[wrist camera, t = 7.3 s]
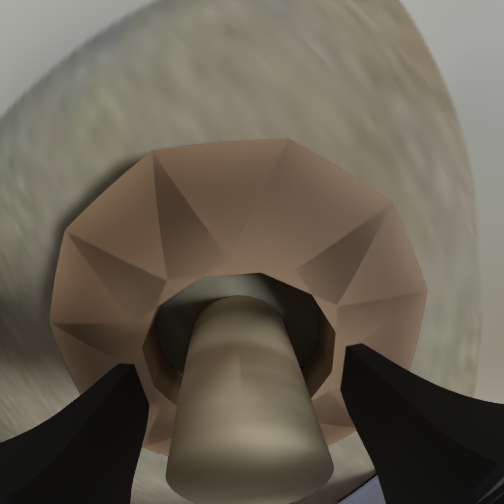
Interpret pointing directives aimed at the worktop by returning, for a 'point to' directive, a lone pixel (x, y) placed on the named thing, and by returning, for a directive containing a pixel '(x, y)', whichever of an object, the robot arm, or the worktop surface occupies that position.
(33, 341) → the worktop surface
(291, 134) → the worktop surface
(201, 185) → the walnut ring
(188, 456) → the beech peg
